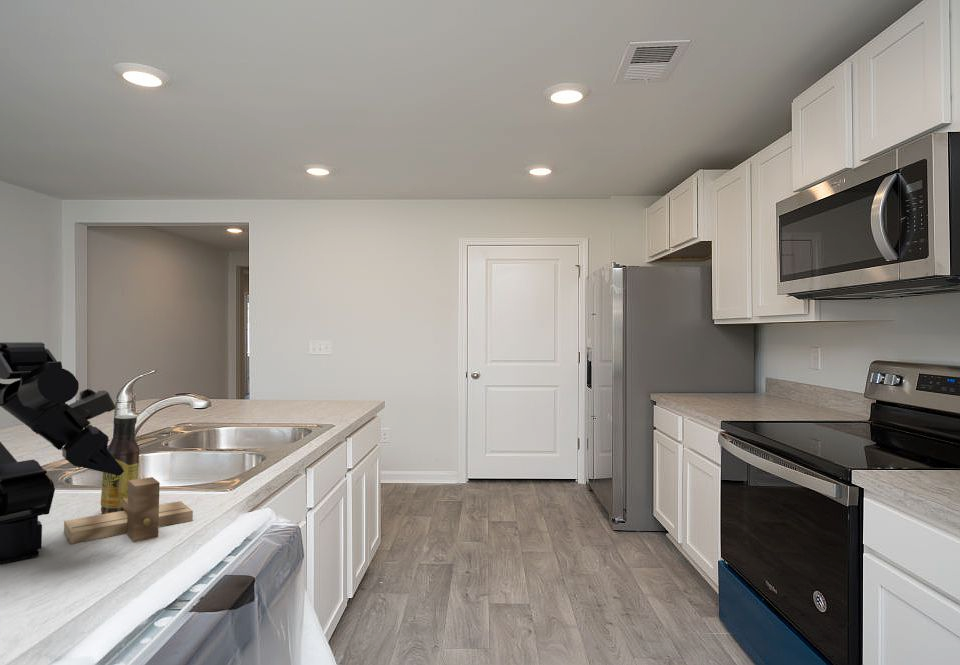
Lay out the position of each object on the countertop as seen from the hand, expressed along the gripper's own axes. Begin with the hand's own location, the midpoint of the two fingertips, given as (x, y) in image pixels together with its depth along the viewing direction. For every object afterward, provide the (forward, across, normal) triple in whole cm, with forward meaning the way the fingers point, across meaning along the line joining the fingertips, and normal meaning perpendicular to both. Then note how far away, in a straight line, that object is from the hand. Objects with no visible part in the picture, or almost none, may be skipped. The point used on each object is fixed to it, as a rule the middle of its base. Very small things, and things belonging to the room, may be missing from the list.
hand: (115, 468), depth 103 cm
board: (+12, +7, +6) cm, 15 cm away
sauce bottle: (+12, +17, +6) cm, 22 cm away
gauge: (+13, +4, +6) cm, 15 cm away
